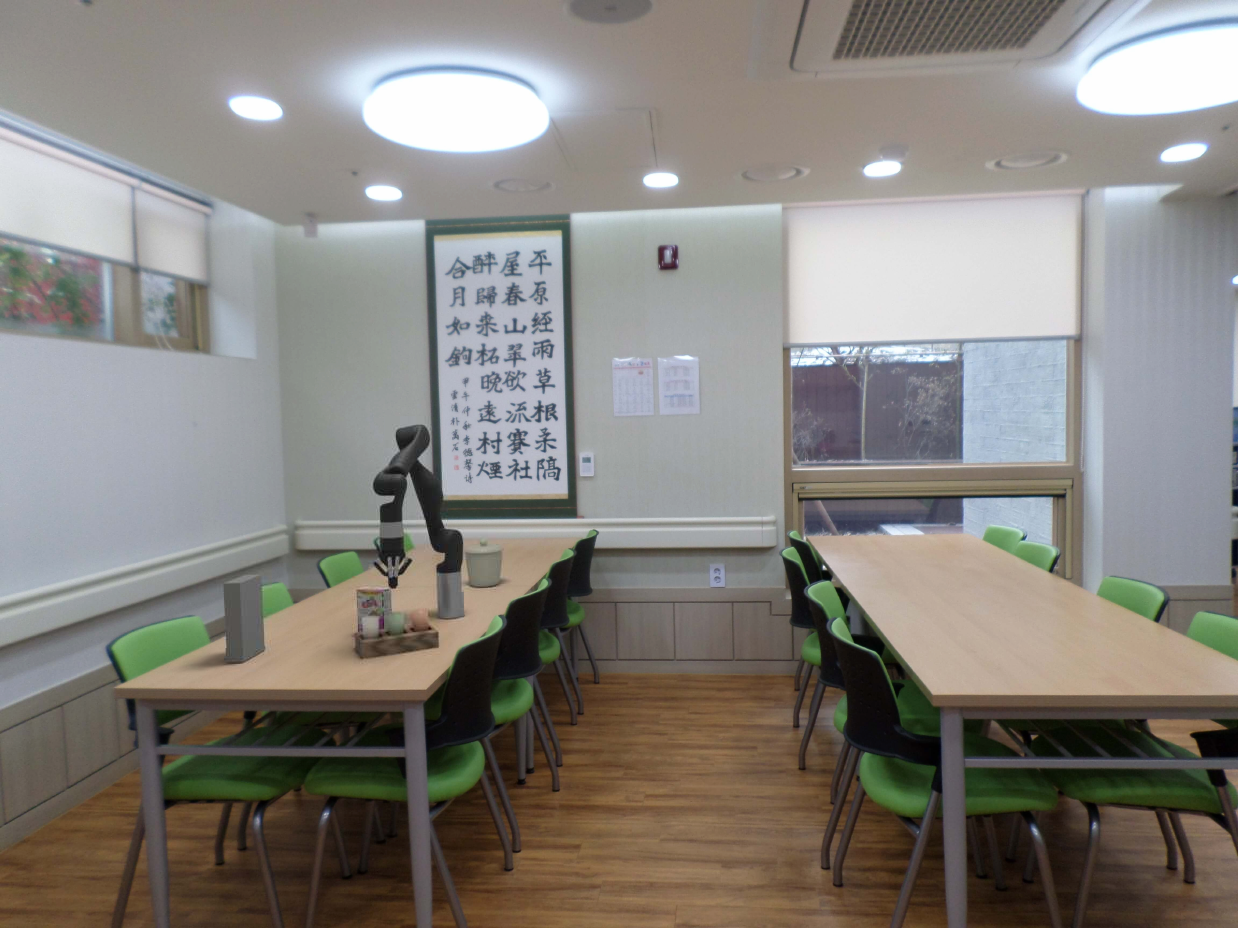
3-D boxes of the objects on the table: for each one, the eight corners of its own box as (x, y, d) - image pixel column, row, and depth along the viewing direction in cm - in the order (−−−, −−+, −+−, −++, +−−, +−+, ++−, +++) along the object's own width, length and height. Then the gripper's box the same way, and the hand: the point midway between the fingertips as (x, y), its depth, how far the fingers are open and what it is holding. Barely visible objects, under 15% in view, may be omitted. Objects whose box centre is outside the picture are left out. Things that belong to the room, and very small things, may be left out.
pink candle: (426, 629, 260) (425, 608, 260) (430, 632, 256) (429, 611, 255) (411, 631, 258) (410, 610, 257) (415, 635, 253) (414, 613, 253)
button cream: (377, 636, 253) (376, 614, 252) (380, 640, 248) (379, 617, 248) (361, 638, 250) (360, 616, 250) (364, 642, 246) (363, 620, 245)
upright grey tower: (246, 650, 253) (243, 574, 252) (265, 650, 253) (262, 574, 252) (224, 663, 240) (220, 583, 238) (243, 663, 239) (239, 583, 238)
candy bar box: (357, 635, 269) (355, 588, 268) (366, 632, 274) (364, 586, 273) (384, 637, 265) (382, 590, 264) (393, 634, 270) (391, 587, 269)
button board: (427, 637, 265) (427, 622, 265) (438, 646, 253) (438, 631, 252) (354, 647, 254) (354, 632, 253) (362, 658, 241) (362, 642, 241)
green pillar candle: (402, 633, 256) (401, 611, 256) (405, 636, 252) (405, 614, 252) (387, 635, 254) (386, 613, 254) (390, 638, 250) (389, 616, 249)
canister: (458, 589, 344) (456, 541, 343) (472, 580, 362) (471, 536, 361) (497, 589, 341) (496, 542, 340) (509, 581, 359) (508, 536, 358)
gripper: (409, 532, 258) (411, 584, 259) (368, 535, 252) (370, 588, 253) (414, 535, 251) (416, 588, 252) (372, 538, 245) (374, 592, 246)
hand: (393, 588), depth 252 cm, fingers closed
